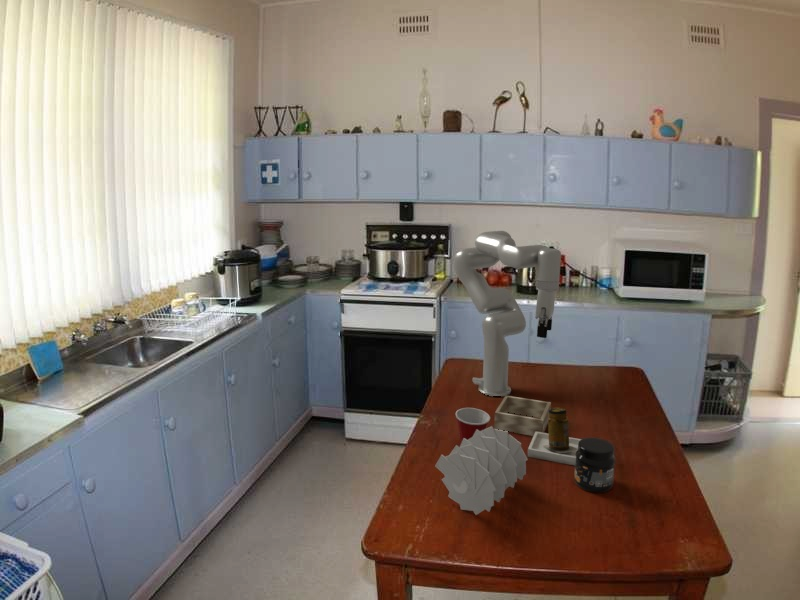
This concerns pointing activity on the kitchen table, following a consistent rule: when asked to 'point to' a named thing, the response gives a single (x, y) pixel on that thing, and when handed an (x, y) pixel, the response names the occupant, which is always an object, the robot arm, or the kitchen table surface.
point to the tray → (544, 453)
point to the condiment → (558, 431)
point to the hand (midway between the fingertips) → (544, 333)
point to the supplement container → (594, 465)
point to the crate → (522, 422)
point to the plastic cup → (471, 421)
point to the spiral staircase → (482, 469)
